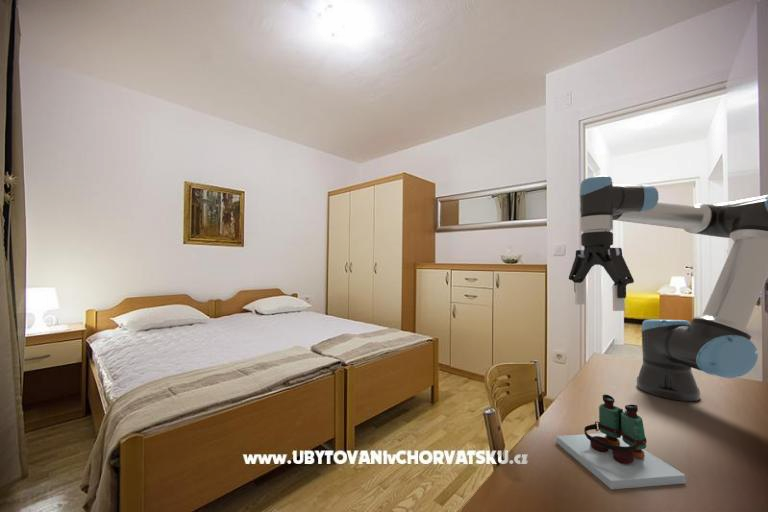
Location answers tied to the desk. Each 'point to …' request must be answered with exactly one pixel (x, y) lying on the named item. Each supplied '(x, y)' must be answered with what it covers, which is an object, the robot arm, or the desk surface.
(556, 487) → the desk surface
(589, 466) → the board
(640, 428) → the binoculars
